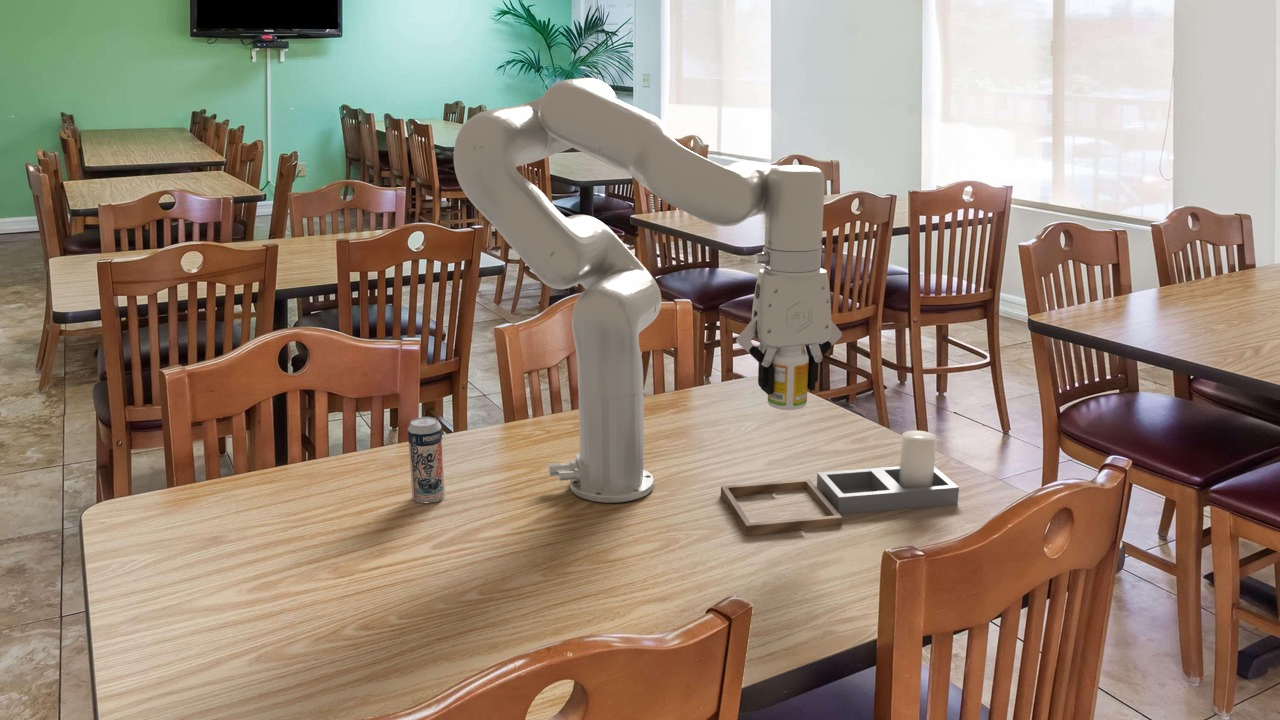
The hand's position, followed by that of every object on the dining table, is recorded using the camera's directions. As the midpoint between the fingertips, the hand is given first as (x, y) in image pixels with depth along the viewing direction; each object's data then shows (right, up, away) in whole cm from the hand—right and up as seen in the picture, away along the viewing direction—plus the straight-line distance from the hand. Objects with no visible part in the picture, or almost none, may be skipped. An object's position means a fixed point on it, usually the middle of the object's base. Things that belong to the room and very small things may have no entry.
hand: (787, 388), depth 149 cm
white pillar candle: (+20, -16, +10) cm, 27 cm away
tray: (-1, -18, +5) cm, 18 cm away
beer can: (-51, -17, +10) cm, 55 cm away
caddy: (+16, -16, +9) cm, 24 cm away
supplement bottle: (0, -2, +1) cm, 3 cm away
